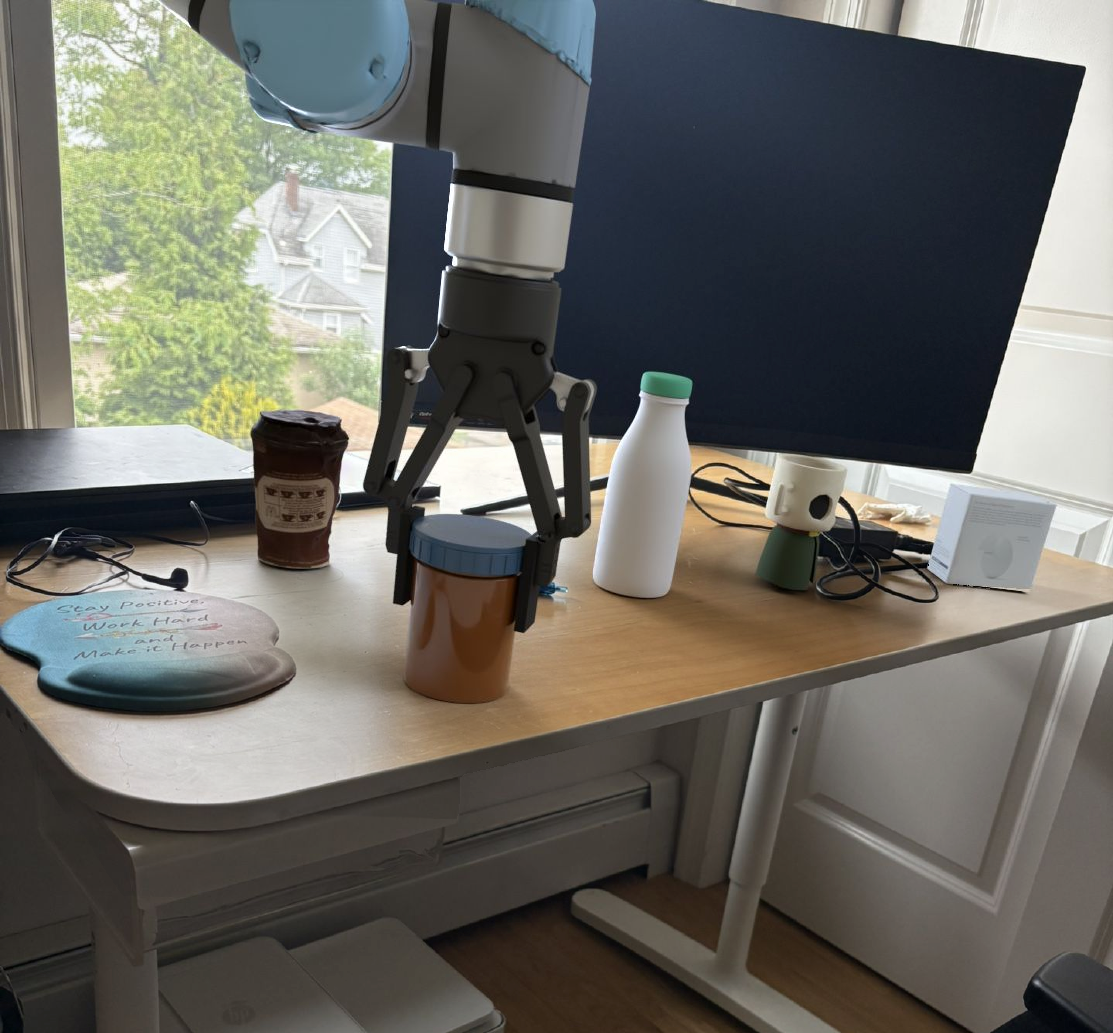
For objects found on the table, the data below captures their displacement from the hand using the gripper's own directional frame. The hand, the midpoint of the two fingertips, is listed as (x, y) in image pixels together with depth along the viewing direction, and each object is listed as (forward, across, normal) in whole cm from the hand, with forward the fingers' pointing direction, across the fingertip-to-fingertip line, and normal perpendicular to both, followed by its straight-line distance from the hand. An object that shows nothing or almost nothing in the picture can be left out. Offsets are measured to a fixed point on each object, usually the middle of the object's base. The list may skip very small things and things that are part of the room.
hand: (464, 612), depth 80 cm
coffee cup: (+5, +22, -18) cm, 29 cm away
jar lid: (-6, 0, 0) cm, 6 cm away
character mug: (+6, -20, -45) cm, 50 cm away
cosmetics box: (+6, -42, -65) cm, 78 cm away
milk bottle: (+6, -6, -33) cm, 34 cm away
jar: (+5, 0, 0) cm, 5 cm away
